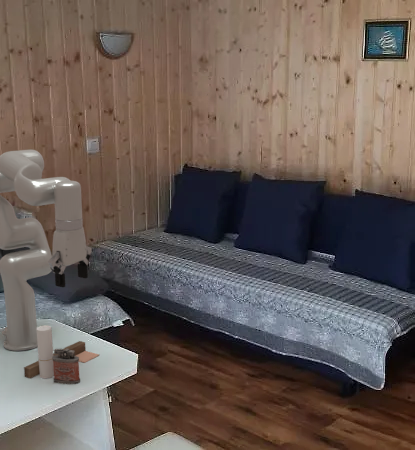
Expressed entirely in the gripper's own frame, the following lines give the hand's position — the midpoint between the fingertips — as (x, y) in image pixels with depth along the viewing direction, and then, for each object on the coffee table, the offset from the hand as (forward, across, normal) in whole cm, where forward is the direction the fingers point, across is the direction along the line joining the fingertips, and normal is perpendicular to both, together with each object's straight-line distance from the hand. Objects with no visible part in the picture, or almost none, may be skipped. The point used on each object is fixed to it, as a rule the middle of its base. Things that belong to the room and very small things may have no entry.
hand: (71, 281), depth 196 cm
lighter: (+29, +5, +1) cm, 30 cm away
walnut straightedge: (+29, -3, -11) cm, 31 cm away
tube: (+29, +5, -7) cm, 30 cm away
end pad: (+29, -11, -6) cm, 31 cm away
